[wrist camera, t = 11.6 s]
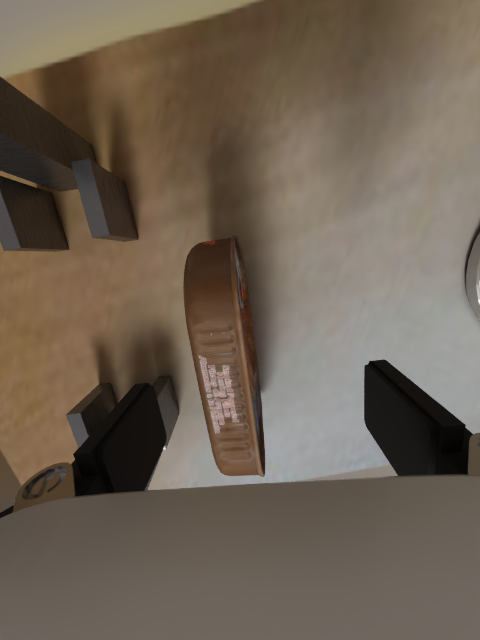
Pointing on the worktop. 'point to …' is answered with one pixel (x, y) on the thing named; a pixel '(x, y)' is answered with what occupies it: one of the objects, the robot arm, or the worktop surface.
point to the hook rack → (44, 224)
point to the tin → (225, 355)
